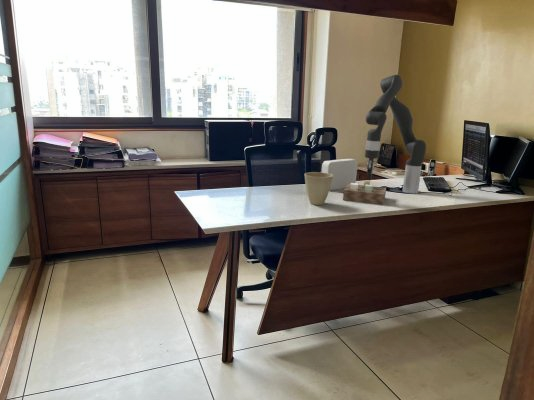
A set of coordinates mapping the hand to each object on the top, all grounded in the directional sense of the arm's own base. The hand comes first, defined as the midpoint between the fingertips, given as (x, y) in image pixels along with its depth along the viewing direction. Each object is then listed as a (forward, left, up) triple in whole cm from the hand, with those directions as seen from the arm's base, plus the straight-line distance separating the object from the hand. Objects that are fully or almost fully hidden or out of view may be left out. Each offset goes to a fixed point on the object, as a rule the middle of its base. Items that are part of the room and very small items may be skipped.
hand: (369, 180), depth 210 cm
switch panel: (+2, -4, -12) cm, 13 cm away
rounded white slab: (+21, -27, -12) cm, 36 cm away
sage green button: (0, 0, -8) cm, 8 cm away
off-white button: (+8, 0, -8) cm, 11 cm away
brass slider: (+1, -8, -6) cm, 10 cm away
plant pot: (+25, +19, -12) cm, 34 cm away
